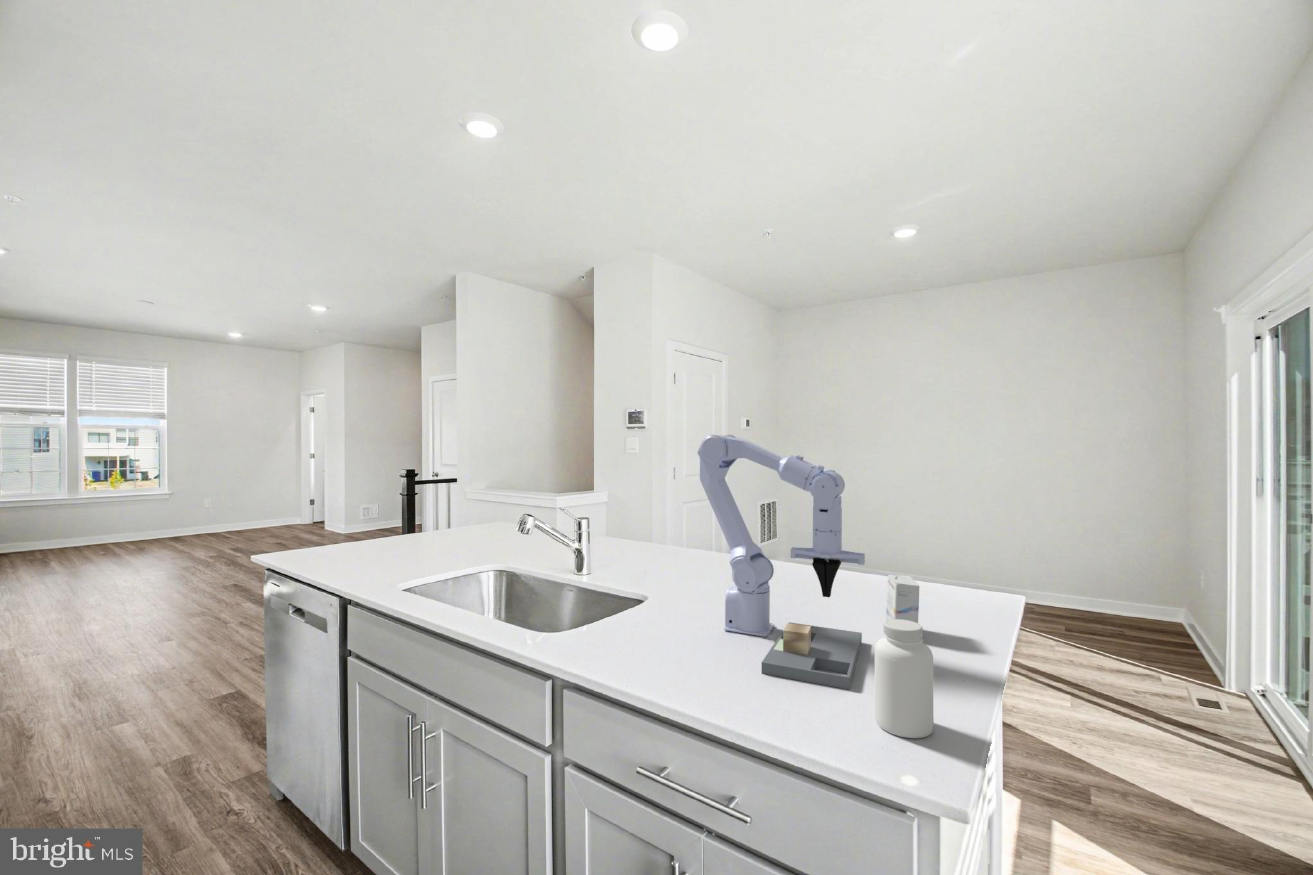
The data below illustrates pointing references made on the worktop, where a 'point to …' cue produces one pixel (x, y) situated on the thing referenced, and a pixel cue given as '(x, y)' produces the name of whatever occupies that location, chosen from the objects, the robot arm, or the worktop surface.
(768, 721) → the worktop surface
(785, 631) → the block
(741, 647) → the worktop surface
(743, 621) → the robot arm
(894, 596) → the ink box
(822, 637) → the board
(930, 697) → the pill bottle
